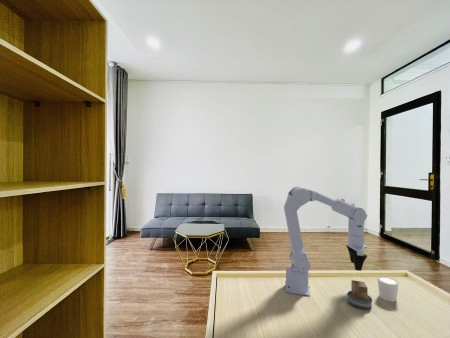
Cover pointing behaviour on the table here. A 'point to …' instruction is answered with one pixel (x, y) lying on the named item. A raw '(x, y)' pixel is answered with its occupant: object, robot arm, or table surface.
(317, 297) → the table surface
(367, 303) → the tin
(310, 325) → the table surface
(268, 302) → the table surface
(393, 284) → the grey and white cylinder
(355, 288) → the walnut block
